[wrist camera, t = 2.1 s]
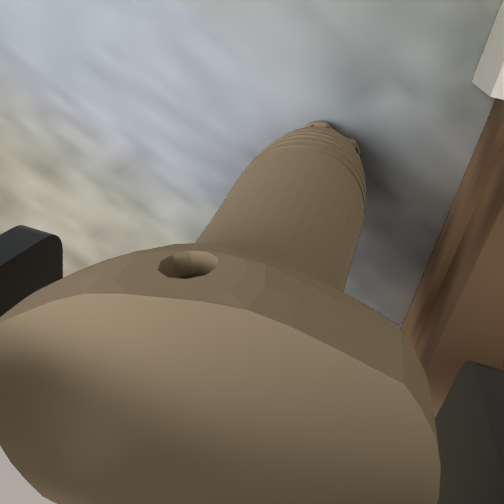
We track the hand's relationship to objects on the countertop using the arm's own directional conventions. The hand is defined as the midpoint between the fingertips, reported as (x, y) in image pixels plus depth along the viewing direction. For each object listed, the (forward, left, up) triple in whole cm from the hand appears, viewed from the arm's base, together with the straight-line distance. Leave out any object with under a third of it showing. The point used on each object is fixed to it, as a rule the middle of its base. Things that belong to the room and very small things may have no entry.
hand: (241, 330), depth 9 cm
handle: (0, 0, -12) cm, 12 cm away
